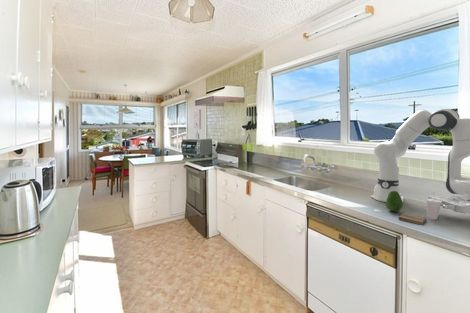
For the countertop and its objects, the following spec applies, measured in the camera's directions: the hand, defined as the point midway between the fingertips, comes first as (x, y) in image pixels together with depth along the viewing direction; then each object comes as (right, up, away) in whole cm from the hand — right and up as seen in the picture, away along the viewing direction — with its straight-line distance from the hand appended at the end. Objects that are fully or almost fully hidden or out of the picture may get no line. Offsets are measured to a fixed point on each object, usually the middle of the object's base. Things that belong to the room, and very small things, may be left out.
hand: (435, 204), depth 132 cm
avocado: (-15, -7, +11) cm, 20 cm away
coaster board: (-14, -8, -2) cm, 16 cm away
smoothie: (-1, -8, +1) cm, 8 cm away
